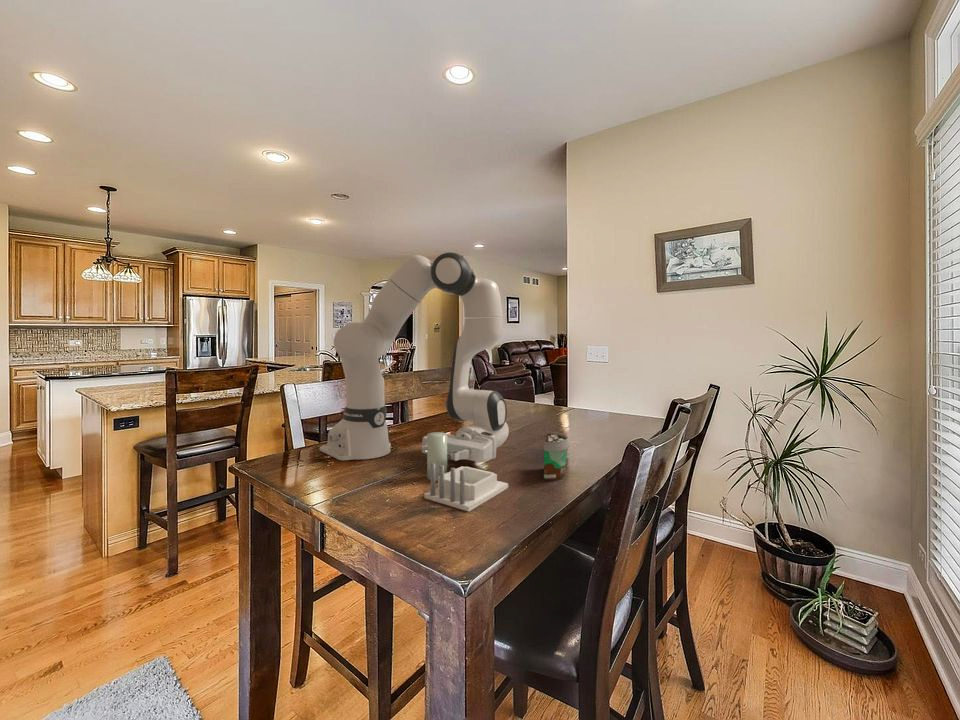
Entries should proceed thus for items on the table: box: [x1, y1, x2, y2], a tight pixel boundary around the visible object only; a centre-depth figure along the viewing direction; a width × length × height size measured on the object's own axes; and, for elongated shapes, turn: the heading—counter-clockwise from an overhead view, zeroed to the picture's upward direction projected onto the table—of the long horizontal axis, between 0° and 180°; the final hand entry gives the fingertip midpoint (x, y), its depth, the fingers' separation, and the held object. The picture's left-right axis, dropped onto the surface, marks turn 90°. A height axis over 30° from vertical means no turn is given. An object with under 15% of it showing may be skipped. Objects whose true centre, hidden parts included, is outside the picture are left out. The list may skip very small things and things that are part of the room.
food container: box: [543, 430, 571, 482], centre depth 106 cm, size 12×6×10 cm, turn 168°
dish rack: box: [423, 463, 509, 512], centre depth 94 cm, size 12×16×8 cm
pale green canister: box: [426, 431, 448, 482], centre depth 104 cm, size 5×5×11 cm
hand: (438, 453), depth 104 cm, fingers open, 8 cm apart
